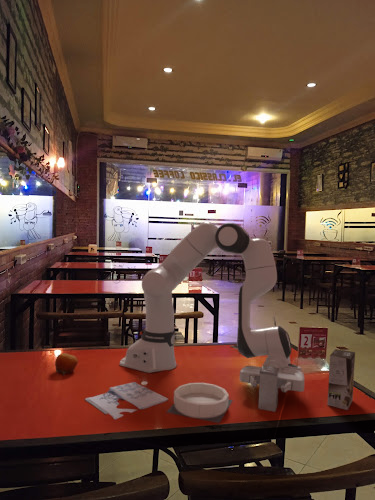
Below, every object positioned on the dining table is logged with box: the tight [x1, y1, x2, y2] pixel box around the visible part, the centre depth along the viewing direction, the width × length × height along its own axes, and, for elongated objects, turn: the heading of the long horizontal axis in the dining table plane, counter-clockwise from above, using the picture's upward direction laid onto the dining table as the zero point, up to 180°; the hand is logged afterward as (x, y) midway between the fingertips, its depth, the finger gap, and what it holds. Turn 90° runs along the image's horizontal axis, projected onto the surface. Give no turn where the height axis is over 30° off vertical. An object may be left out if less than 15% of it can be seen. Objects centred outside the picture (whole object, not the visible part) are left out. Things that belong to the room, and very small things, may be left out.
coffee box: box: [326, 348, 356, 411], centre depth 125 cm, size 9×6×16 cm
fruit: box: [54, 352, 79, 376], centre depth 143 cm, size 8×8×8 cm
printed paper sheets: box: [84, 381, 169, 420], centre depth 121 cm, size 19×20×2 cm
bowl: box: [173, 382, 230, 420], centre depth 118 cm, size 16×16×4 cm
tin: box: [258, 365, 279, 412], centre depth 119 cm, size 5×5×12 cm
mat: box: [166, 399, 233, 424], centre depth 118 cm, size 16×16×1 cm
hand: (268, 387), depth 118 cm, fingers open, 8 cm apart
